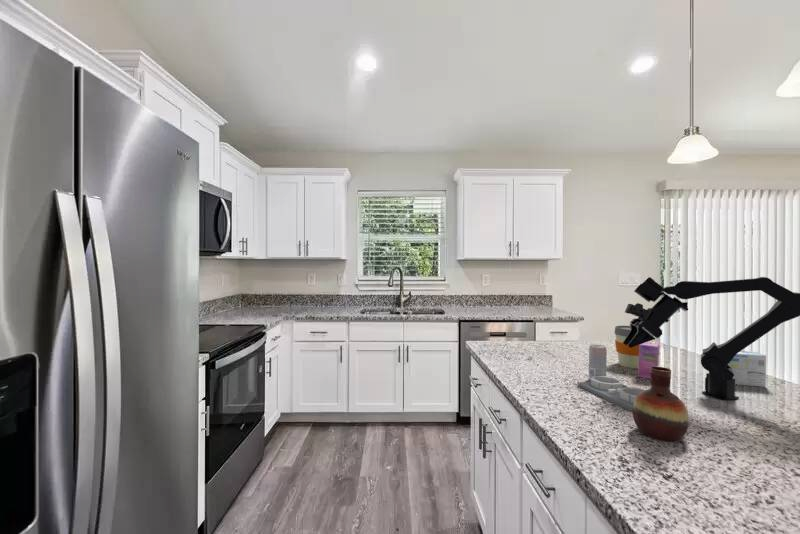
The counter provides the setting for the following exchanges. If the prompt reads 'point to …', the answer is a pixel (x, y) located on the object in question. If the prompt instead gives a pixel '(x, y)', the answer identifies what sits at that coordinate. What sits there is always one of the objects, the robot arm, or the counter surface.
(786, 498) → the counter surface
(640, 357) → the box
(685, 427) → the vase
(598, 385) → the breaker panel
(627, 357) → the reusable coffee cup
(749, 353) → the light bulb box
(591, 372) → the energy drink
